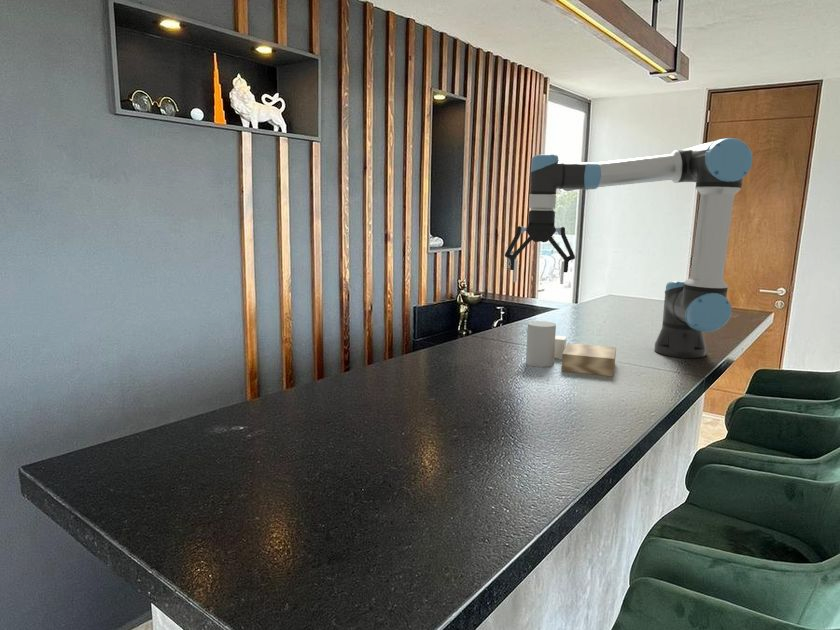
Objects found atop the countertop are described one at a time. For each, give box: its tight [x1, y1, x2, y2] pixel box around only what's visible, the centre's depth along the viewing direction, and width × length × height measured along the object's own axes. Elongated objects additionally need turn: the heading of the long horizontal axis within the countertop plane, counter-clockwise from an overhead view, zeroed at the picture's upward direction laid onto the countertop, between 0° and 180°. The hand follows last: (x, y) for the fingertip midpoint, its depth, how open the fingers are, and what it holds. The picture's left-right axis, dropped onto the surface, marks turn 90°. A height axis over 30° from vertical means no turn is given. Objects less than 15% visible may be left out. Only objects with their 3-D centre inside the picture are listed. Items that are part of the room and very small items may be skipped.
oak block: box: [561, 342, 617, 377], centre depth 169 cm, size 14×14×5 cm
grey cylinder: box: [525, 320, 557, 368], centre depth 172 cm, size 8×8×12 cm
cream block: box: [554, 335, 568, 360], centre depth 181 cm, size 5×5×6 cm
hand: (538, 282), depth 172 cm, fingers open, 13 cm apart
